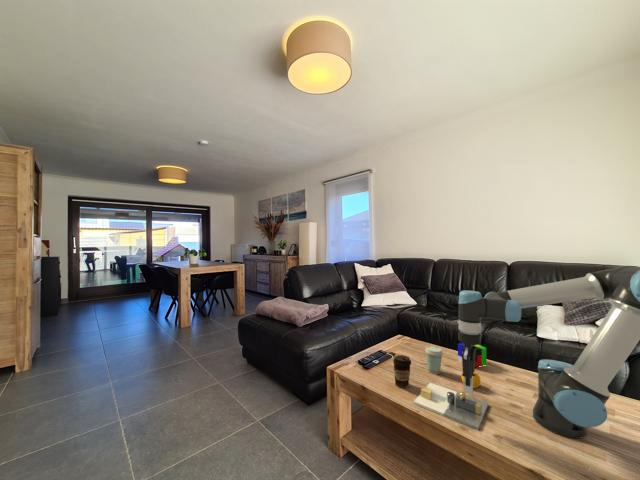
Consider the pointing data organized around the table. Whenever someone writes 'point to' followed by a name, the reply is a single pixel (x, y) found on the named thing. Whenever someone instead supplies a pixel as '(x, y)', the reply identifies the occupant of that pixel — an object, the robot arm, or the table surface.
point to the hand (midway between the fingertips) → (468, 393)
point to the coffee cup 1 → (402, 370)
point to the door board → (434, 398)
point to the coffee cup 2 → (434, 359)
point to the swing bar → (468, 404)
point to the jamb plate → (466, 413)
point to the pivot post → (450, 397)
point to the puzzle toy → (479, 355)
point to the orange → (474, 380)
